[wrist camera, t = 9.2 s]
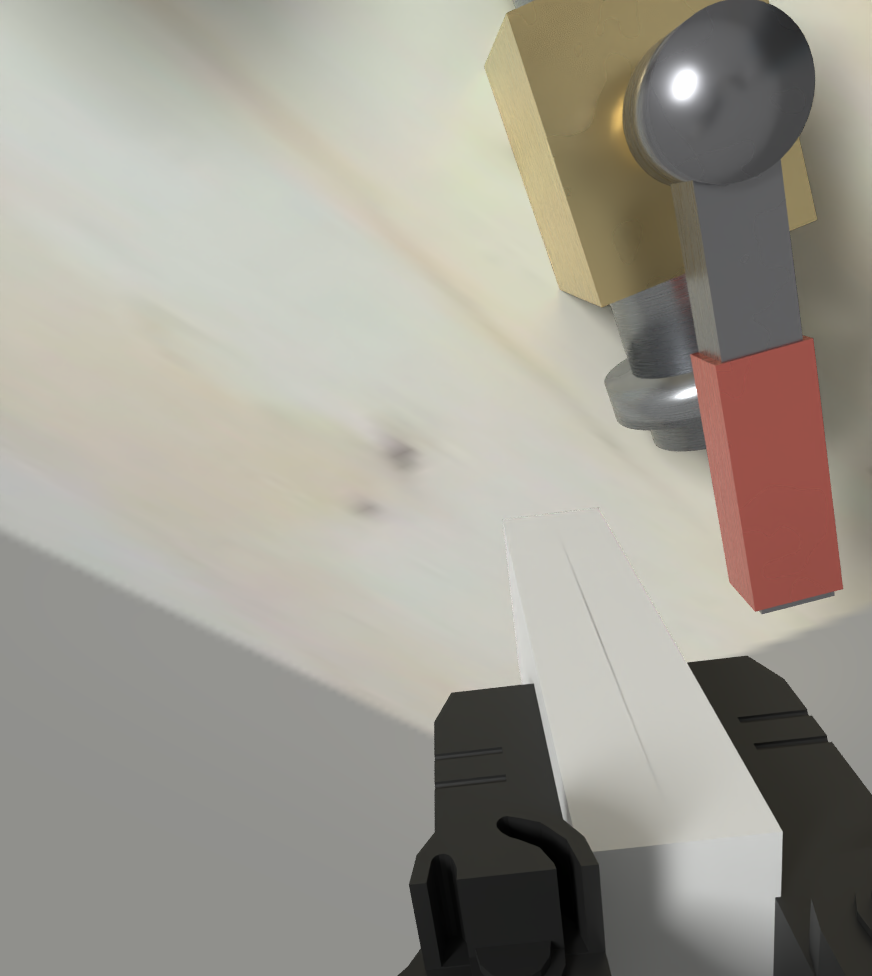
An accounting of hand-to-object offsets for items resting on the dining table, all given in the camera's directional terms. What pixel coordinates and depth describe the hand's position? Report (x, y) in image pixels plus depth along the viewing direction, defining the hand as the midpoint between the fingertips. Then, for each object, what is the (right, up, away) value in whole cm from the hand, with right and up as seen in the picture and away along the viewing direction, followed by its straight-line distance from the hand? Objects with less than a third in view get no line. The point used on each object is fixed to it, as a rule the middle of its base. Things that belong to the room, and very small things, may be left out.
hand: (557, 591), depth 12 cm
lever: (+6, +6, +8) cm, 12 cm away
